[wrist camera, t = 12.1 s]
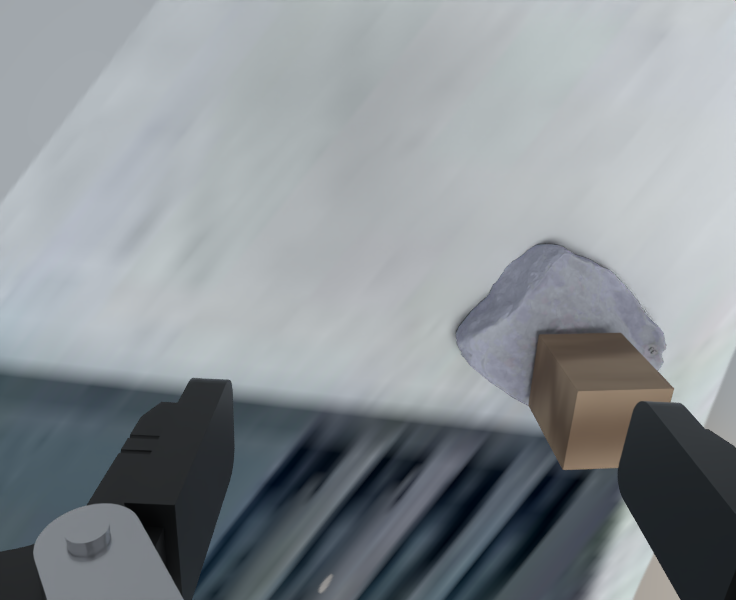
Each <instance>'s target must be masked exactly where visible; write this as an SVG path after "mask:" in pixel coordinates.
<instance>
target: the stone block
mask: <svg viewBox="0 0 736 600" xmlns="http://www.w3.org/2000/svg"><path fill="white" fill-rule="evenodd" d="M581 333H622V334H623V335H624V336H625V337H626V338H627V340H628V341H629V342H630V343H631V344H632V345H633V346H634V347H635V348H636V349H637V350H638V351H639V352H640V353H641V354H642V355H643V356H644V357H645V358H646V359H647V361H648V362H649V363H650V364H651V365H652V366H653V367H654V368H655V369H656V370H657V371H658V370H659V369H660V368H661V366H662V364H663V362H664V361H663V358H662V352H663V351H664V350H665V349H666V343H665V338H664V333H663V331H662V330H661V329H660V328H659V327H658V325H657V324H655V323H654V322H653V321H652V320H650V319H649V317H648V316H647V315H646V313H645V311H644V310H643V308H642V307H641V305H640V303H639V301H638V300H637V299H636V298H635V297H634V295H633V294H632V293H631V291H630V290H629V289H628V288H627V287H626V286H625V285H624V284H623V283H622V282H621V281H620V279H619V278H618V277H617V276H616V275H615V274H614V273H613V272H612V271H611V270H609V269H607V268H604V267H602V266H600V265H598V264H597V263H595V262H593V261H591V260H590V259H588V258H585V257H582V256H579V255H576V254H573V253H572V252H570V251H569V250H567V249H566V248H564V247H563V246H560V245H556V244H544V245H535V246H533V247H532V248H530V249H529V250H527V251H526V252H525V253H524V254H523V255H522V256H521V257H519V258H518V259H516V260H514V261H512V262H511V264H510V265H509V266H507V267H506V268H505V270H504V272H503V273H502V274H501V276H500V278H499V279H498V280H497V282H496V283H495V284H493V286H492V289H491V291H490V293H489V295H488V296H487V297H486V298H485V299H484V300H483V301H481V302H480V303H479V304H478V305H477V306H476V307H475V308H474V309H473V310H472V311H471V312H470V313H469V314H468V316H467V317H466V318H465V320H464V321H463V323H462V324H461V325H460V326H459V328H458V330H457V332H456V339H457V345H458V347H459V349H460V351H461V352H462V353H461V354H462V356H463V357H464V358H465V359H466V360H467V362H468V363H469V365H470V366H471V367H473V368H474V369H475V370H476V371H478V372H479V373H480V374H481V375H482V376H483V377H485V378H486V379H487V380H488V381H490V382H491V383H492V384H494V385H495V386H497V387H498V388H500V389H502V390H503V391H504V392H506V393H507V394H509V395H510V396H512V397H513V398H515V399H517V400H518V401H520V402H522V403H524V404H526V405H528V404H529V397H530V390H531V384H532V377H533V370H534V364H535V357H536V350H537V344H538V337H539V334H581ZM528 406H529V405H528Z"/></svg>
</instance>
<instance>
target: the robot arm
mask: <svg viewBox="0 0 736 600" xmlns="http://www.w3.org/2000/svg"><path fill="white" fill-rule="evenodd" d="M233 461H234V419H233V390H232V383H231V381H230V380H223V379H202V378H192V379H190V381H189V383H188V385H187V386H186V388H185V390H184V392H183V394H182V396H181V398H180V399H179V401H178V403H171V402H161V403H159V404H158V405H157V406H155V407H154V408H153V409H151V410H150V411H148V412H147V413H146V414H144V415H143V416H142V417H141V418H140V419H139V421H138V423H137V424H136V426H135V428H134V429H133V431H132V432H131V434H130V438H128V439H127V441H126V442H125V444H124V445H123V447H122V449H121V453H119V454H118V455H117V457H116V458H115V460H114V462H113V463H112V465H111V467H110V468H109V470H108V471H107V473H106V475H105V476H104V478H103V480H102V481H101V483H100V484H99V486H98V488H97V489H96V491H95V493H94V494H93V496H92V497H91V499H90V501H89V502H88V504H87V506H83V507H80V508H77V509H74V510H72V511H70V512H67V513H65V514H64V515H62V516H60V517H58V518H57V519H55V520H54V521H53V522H51V523H50V524H49V525H48V526H47V527H46V528H45V529H44V530H43V531H42V532H41V533H40V535H39V537H38V538H37V540H36V542H35V544H33V545H30V546H26V547H22V548H18V549H12V550H7V551H2V552H0V600H192V598H193V595H194V591H195V588H196V585H197V582H198V579H199V576H200V573H201V569H202V566H203V563H204V560H205V557H206V554H207V551H208V547H209V544H210V541H211V538H212V535H213V532H214V529H215V525H216V522H217V519H218V516H219V513H220V510H221V507H222V503H223V500H224V497H225V494H226V491H227V488H228V485H229V482H230V478H231V474H232V469H233ZM618 484H619V489H620V493H621V495H622V498H623V500H624V501H625V503H626V505H627V507H628V508H629V510H630V512H631V514H632V515H633V517H634V519H635V521H636V522H637V524H638V526H639V528H640V529H641V531H642V533H643V535H644V536H645V538H646V540H647V542H648V543H649V545H650V547H651V549H652V550H653V552H654V554H655V556H656V557H657V559H658V561H659V563H660V564H661V566H662V568H663V570H664V571H665V573H666V575H667V577H668V579H669V580H670V582H671V584H672V585H673V587H674V589H675V591H676V593H677V594H678V596H679V598H680V599H681V600H736V448H735V447H734V446H733V445H732V444H730V443H729V442H727V441H725V440H724V439H723V438H721V437H719V436H718V435H716V434H715V433H713V432H712V431H710V430H709V429H704V427H703V426H702V425H701V424H700V423H699V422H698V421H697V420H696V418H695V417H694V416H693V415H692V414H691V413H690V412H689V411H688V409H687V408H686V407H685V406H684V405H682V404H681V403H672V402H652V401H640V402H638V403H637V404H636V406H635V407H634V409H633V412H632V416H631V420H630V424H629V427H628V431H627V435H626V439H625V442H624V446H623V450H622V454H621V458H620V461H619V466H618Z"/></svg>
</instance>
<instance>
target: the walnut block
mask: <svg viewBox="0 0 736 600" xmlns="http://www.w3.org/2000/svg"><path fill="white" fill-rule="evenodd" d="M673 391H674V388H673V387H672V386H671V385H670V384H669V383H668V382H667V381H666V379H665V378H664V377H663V376H662V375H661V374H660V373H659V372H658V371H657V370H656V369H655V368H654V367H653V366H652V365H651V364H650V363H649V362H648V361H647V359H646V358H645V357H644V356H643V355H642V354H641V353H640V352H639V351H638V350H637V349H636V348H635V347H634V346H633V345H632V344H631V343H630V342H629V341H628V340H627V338H626V337H625V336H624V335H623V334H622V333H581V334H539V337H538V344H537V350H536V357H535V364H534V370H533V377H532V384H531V390H530V397H529V404H528V405H529V407H530V409H531V411H532V413H533V415H534V417H535V418H536V420H537V422H538V424H539V426H540V428H541V430H542V432H543V433H544V435H545V437H546V439H547V441H548V443H549V445H550V446H551V448H552V450H553V452H554V454H555V456H556V458H557V460H558V461H559V463H560V465H561V467H562V469H563V470H573V469H599V468H618V466H619V461H620V458H621V454H622V450H623V446H624V442H625V439H626V435H627V431H628V427H629V424H630V420H631V416H632V412H633V409H634V407H635V406H636V404H637V403H638V402H640V401H652V402H671V398H672V394H673Z"/></svg>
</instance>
